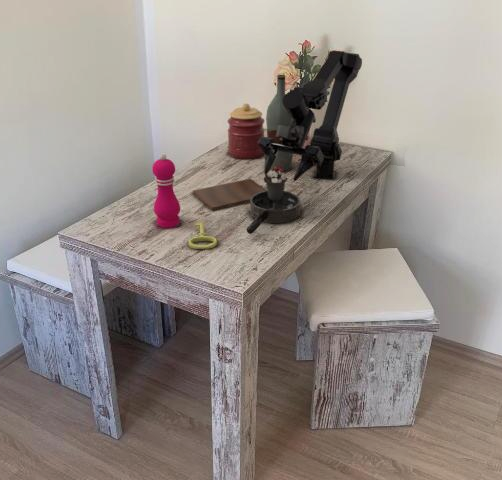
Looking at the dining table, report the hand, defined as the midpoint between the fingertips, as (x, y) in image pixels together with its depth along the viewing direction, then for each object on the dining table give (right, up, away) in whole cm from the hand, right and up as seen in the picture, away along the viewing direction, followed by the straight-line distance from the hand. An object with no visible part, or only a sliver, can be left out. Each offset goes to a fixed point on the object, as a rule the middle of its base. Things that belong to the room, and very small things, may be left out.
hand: (279, 177), depth 162 cm
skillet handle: (-6, -14, -7) cm, 17 cm away
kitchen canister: (-9, +17, +46) cm, 50 cm away
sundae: (-1, -10, +4) cm, 10 cm away
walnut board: (-14, -3, +15) cm, 20 cm away
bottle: (+2, +9, +34) cm, 36 cm away
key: (-21, -18, -10) cm, 29 cm away
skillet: (-1, -10, +4) cm, 10 cm away
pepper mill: (-31, -13, -1) cm, 34 cm away
